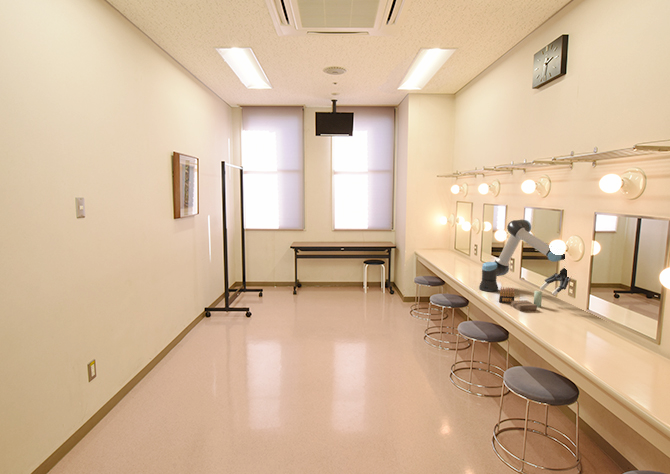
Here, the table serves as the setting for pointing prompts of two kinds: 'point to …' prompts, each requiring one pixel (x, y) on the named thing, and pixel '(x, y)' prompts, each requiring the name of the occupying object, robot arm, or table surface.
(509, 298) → the ammunition clip
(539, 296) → the sage cylinder
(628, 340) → the table surface
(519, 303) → the walnut plinth
